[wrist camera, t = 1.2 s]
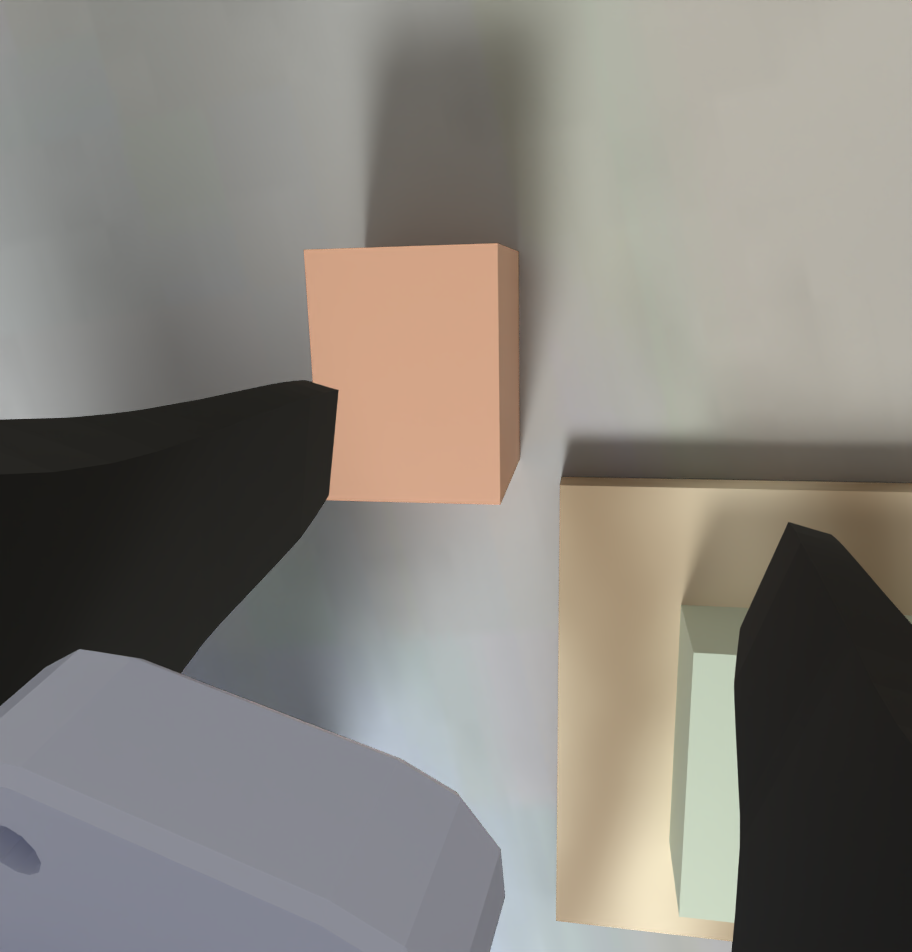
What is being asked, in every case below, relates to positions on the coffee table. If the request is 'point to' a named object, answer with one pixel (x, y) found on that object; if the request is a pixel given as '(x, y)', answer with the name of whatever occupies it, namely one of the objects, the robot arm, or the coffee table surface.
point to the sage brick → (706, 765)
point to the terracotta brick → (418, 369)
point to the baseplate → (667, 656)
